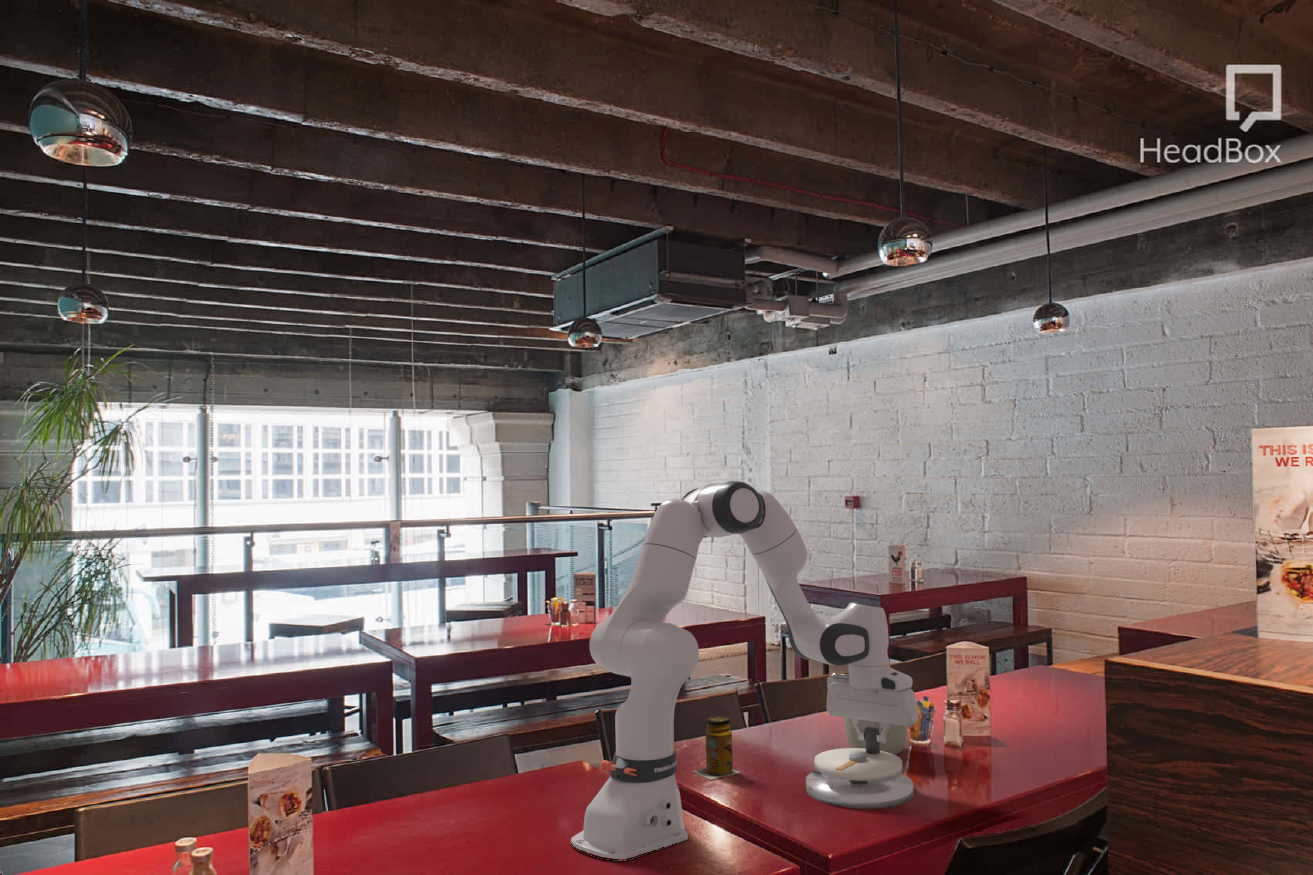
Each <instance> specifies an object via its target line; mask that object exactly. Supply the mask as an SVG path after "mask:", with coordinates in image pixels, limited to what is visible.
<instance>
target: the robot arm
mask: <svg viewBox="0 0 1313 875" xmlns="http://www.w3.org/2000/svg"><path fill="white" fill-rule="evenodd" d="M654 512H655V513H654V515H653V517H652V519H651V521H650V522H649V525H648V528H647V530H646V534H645V536H644V539H643V543H642V546H641V549H640V553H639V556H638V559H637V563H636V566H635V569H634V572H633V575H632V578H631V581H630V583H629V586H628V587H627V589H626V591H625V593H624V594H623V596H622V598H621V599H620V601H619V602H618V604H617V605H616V606H615V608H614V610H612V613H610V614H609V615H608V617H607V618H605V619H603V620H602V621H601V622H599V623H598V624H597V625H596V626H595V628H594V629H593V631H592V633H591V635H590V639H589V652H590V656H591V658H592V660H593V662H595V663H596V664H597V665H598V666H600V667H601V668H603V669H604V670H606V671H608V672H610V673H612V674H615V675H620V676H624V677H629V678H630V679H631V681H630V682H631V684H630V689H629V693H628V697H627V699H626V701H624V702H622V703H621V704H620V705H619V706H618V707H617V709H616V711H615V717H614V719H615V720H614V722H615V723H614V724H615V752H614V754H613V756H612V761H608V760H606V759H603V760H602V761H600V764H599V765H600V766H599V770H600V771H601V772H605V773H609V778H608V779H607V780H606V782H605V783H604V784H603V786H602V787H601V789H600V790H599V791H598V792H597V794H596V795H595V796H594V797H593V799H592V801H591V802H590V803H589V805H587V807H586V809H585V812H584V819H583V820H584V821H583V830H582V831H580V832H578V833H577V834H574V836H572V837H571V838H570V844H571V843H572V845H573V846H574V847H576V848H577V849H579V850H583V851H585V852H587V853H592V854H594V855H598V856H601V857H607V858H613V859H627V858H630V857H635V856H637V855H639V854H643V853H647V852H650V851H653V850H656V851H658V850H661V849H663V848H662V847H664V848H667V847H670V846H672V844H673V845H676V844H679V843H681V842H684V841H686V840H689V835H688V831H687V829H686V826H685V823H684V816H683V808H682V807H683V806H682V800H681V799H682V798H681V793H680V789H679V786H678V783H677V777H676V773H677V772H678V759H677V752H676V750H675V740H674V737H675V736H674V735H675V734H674V733H675V732H674V731H675V729H674V725H675V724H674V723H675V722H674V721H675V720H674V719H675V707H676V704H677V703H676V702H677V698H678V696H679V693H680V689H681V688H682V685H684V683H685V682H686V681H687V680H688V679H689V678H690V677H691V676H692V675H694V672H695V670H696V668H697V665H698V663H699V658H700V651H699V643H698V641H697V639H696V638H695V636H694V635H693V633H691V632H690V631H689V630H687V629H685V628H683V627H680V626H678V625H675V624H672V623H670V622H664V620H665V619H666V617H667V616H668V614H669V613H670V612H671V611H672V610H673V609H674V608H675V607H677V606H678V605H679V604H681V603H682V602H683V601H684V600H685V598H686V596H687V595H688V592H689V591H688V590H689V587H690V584H691V580H692V576H693V572H694V569H695V565H696V560H697V557H698V552H699V548H700V545H701V543H702V541H703V539H706V538H724V537H730V536H732V535H736V534H737V535H740V537H741V538H742V539H743V540H744V542H745V545H746V546H747V548H748V550H749V551H750V553H751V555H752V557H753V559H754V560H755V562H756V564H757V565H758V567H759V569H760V571H761V572H762V574H763V576H764V578H765V582H766V583H767V586H768V588H769V590H770V592H771V594H772V596H773V598H774V600H775V602H776V604H777V606H778V608H779V610H780V612H781V614H782V617H783V619H784V621H785V625H786V628H787V635H788V640H789V644H790V647H791V649H792V650H793V652H794V653H795V654H796V655H797V656H798V657H800V658H801V659H803V660H808V661H809V660H810V661H815V662H819V663H822V664H826V665H830V666H832V667H833V666H834V667H839V666H841V667H842V666H846V665H847V666H848V673H839V672H833V673H832V674H830V675H828V677H827V680H826V687H827V696H826V711H827V713H828V714H829V715H830V716H833V717H839V718H844V717H846V718H852V722H853V725H854V727H855V729H856V730H857V732H858V740H863V741H865V731H864V729H863V727H862V725H861V722H863V720H866V721H873V722H880V723H881V728H883V730H882V732H881V733H879V734H877V743H881V744H885V743H886V741H887V739H886V734H887V733H888V731H889V729H890V727H891V724H893V725H900V726H907V728H908V727H912V726H914V725H915V724H916V723H917V722H918V721H919V709H918V702H917V696H916V694H915V692H914V691H913V689H912V687H913V682H914V681H913V678H912V677H911V676H910V675H908V674H905V673H903V672H901V671H898V670H896V669H894V668H893V667H891V666H890V665H891V663H890V658H889V656H888V649H889V644H890V642H889V628H888V620H887V615H886V612H885V610H884V608H883V607H882V606H881V605H879V604H876V603H870V602H863V601H851V602H849V603H848V605H847V606H846V608H844V609H843V610H842V611H840V612H839V613H837V614H836V615H833V616H832V617H830V618H828V617H824V616H821V615H820V614H818V613H816V612H815V611H814V610H813V609H812V608H811V606H810V604H809V602H808V600H807V597H806V596H805V594H804V592H803V589H802V588H801V585H800V583H799V581H798V574H799V573H800V572H801V571H802V570H803V569H804V567H805V565H806V562H807V559H808V550H807V546H806V543H805V541H804V539H803V537H802V535H801V533H800V531H799V529H798V528H797V526H796V525H795V523H794V522H793V520H792V518H791V517H790V515H789V514H788V512H787V511H786V510H785V508H784V507H783V505H782V504H781V503H780V502H779V501H778V500H777V499H776V498H775V496H774V495H773V494H771V493H770V492H767V491H763V490H759V491H757V490H756V488H754V487H753V486H751V485H750V484H748V483H746V482H743V481H738V480H734V481H733V480H731V481H730V480H729V481H726V482H719V483H717V482H716V483H710V484H707V485H706V484H705V485H704V486H701V487H698V488H694V489H692V490H690V491H688V492H687V493H686V494H684V495H683V496H682V497H681V498H680V499H678V498H672V499H667V500H664V501H662V503H660V505H659V506H658V507H657V508H656V511H654ZM911 686H912V687H911ZM909 687H911V688H909ZM675 843H676V844H675ZM572 845H571V846H572ZM573 846H572V847H573ZM574 847H573V848H574ZM660 848H661V849H660ZM577 849H576V850H577ZM579 850H578V851H579ZM653 852H654V851H653ZM650 853H651V852H650ZM647 854H648V853H647ZM635 858H636V857H635Z"/></svg>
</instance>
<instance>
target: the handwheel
mask: <svg viewBox="0 0 1313 875" xmlns="http://www.w3.org/2000/svg"><path fill="white" fill-rule="evenodd" d="M877 734H879V728H876V727H866V728H865V745H866V749H863V748H851V747H844V748H834V749H830V750H826V751H825V750H824V751H822V752H820V753H818V754H816V755H815V757H814V767H815V768H814V769H815V770H817V771H819V772H820V773H822V774H825V775H827V776H831V777H835V778H839V779H846V780H858V781H872V780H882V779H888V778H892V777H895V776H897V775H899V774H900V773H901V774H902V772H903V760H902V759H901V757H899V756H897V754H896V755H893V754H891V753H888V752H884V751H880V743H877Z"/></svg>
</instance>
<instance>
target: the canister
mask: <svg viewBox="0 0 1313 875" xmlns="http://www.w3.org/2000/svg"><path fill="white" fill-rule="evenodd" d="M912 687H913V685H912V686H911V687H909V688H910V689H912ZM843 722H844V723H843V724H844V728H845V734H846V738H847V739H846V740H847V743H848V745H849V748H863V749H866V745H865V741H863V740H858V732H857V730H856V729H855V727H854V725H853V722H852V718H846V717H843ZM861 725H862V727H863V729H864V731H865V728H866V727H876V728H879V733H881V732H882V730H883V728H881V723H880V722H873V721H866V720H863V722H861ZM907 735H908V727H907V726H900V725H893V724H891V727H890V729H889V731H888V733H887V734H886V739H887V741H886V743H885V744H881V743H880V751H884V752H888V753H891V754H893V755H896V756H897V755H899V754H901V752H903V751H904V749H905V747H906V742H907Z"/></svg>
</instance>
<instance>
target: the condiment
mask: <svg viewBox="0 0 1313 875" xmlns="http://www.w3.org/2000/svg"><path fill="white" fill-rule="evenodd" d="M730 721H731V720H730V718H728V717H726V716H718V715H717V716H710V717H708V718H707V720H706V730H705V735H704V736H705V760H706V761H705V762H706V766H705V768H701V769H694V770H692V771H691V772H692V773H694V774H696V775H698V776H701V777H702V778H706V779H708V780H715V779H719V778H723V777H730V776H735V775H738V774H740V773H741V772H740V770H739V771H738V770H735V769H733V768H734V767H733V766H734V765H733V762H734V761H733V760H734V759H733V733H732V730H731V724H730V723H731V722H730Z"/></svg>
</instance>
